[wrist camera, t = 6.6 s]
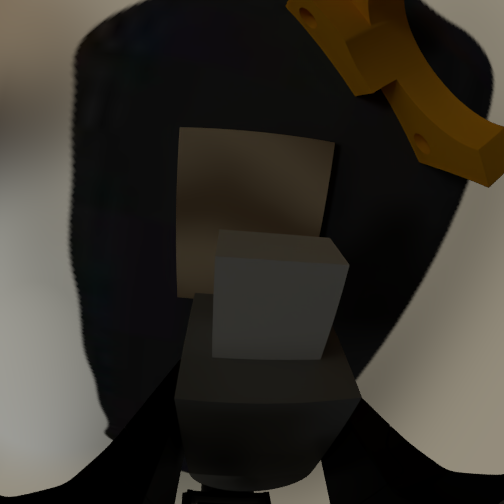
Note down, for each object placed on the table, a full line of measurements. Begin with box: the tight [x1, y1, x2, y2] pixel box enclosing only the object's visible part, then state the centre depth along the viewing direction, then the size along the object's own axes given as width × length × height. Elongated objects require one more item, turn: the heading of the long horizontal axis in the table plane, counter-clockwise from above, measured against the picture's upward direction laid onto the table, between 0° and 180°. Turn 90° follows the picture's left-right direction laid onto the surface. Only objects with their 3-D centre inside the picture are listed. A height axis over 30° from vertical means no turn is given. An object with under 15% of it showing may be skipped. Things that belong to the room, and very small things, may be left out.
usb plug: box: [174, 229, 362, 491], centre depth 8 cm, size 9×4×4 cm, turn 174°
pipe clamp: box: [285, 0, 504, 188], centre depth 10 cm, size 12×4×6 cm, turn 36°
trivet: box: [176, 127, 335, 298], centre depth 16 cm, size 10×8×1 cm
